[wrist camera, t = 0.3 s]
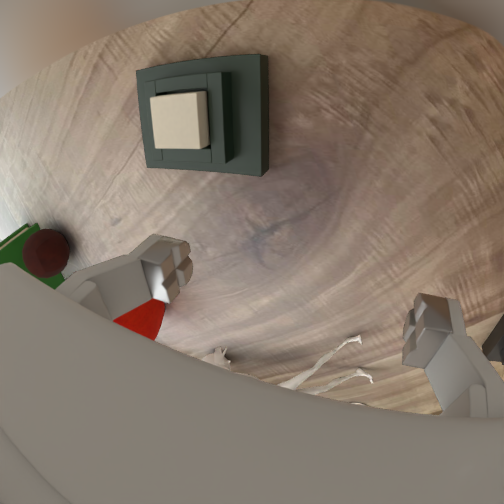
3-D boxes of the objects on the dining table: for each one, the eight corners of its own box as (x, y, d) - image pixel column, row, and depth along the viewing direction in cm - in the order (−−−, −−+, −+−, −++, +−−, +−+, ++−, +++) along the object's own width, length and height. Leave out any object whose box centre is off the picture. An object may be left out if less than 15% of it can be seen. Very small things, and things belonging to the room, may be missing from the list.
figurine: (375, 397, 30) (206, 424, 38) (365, 342, 39) (219, 376, 47) (363, 354, 27) (170, 390, 34) (351, 296, 35) (190, 340, 43)
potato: (42, 222, 45) (8, 247, 38) (67, 216, 40) (26, 245, 33) (60, 259, 49) (29, 286, 42) (88, 260, 44) (52, 292, 37)
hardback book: (26, 223, 49) (-49, 285, 31) (37, 223, 46) (-46, 291, 28) (57, 286, 58) (-6, 349, 40) (71, 291, 55) (3, 361, 37)
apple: (165, 276, 38) (116, 332, 30) (184, 322, 42) (145, 376, 34) (122, 270, 41) (76, 315, 33) (143, 312, 46) (104, 357, 37)
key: (161, 95, 20) (149, 97, 19) (207, 90, 19) (196, 92, 18) (166, 144, 23) (154, 148, 22) (210, 144, 21) (200, 149, 20)
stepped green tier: (148, 69, 22) (123, 72, 20) (268, 55, 19) (252, 52, 16) (158, 161, 28) (136, 173, 25) (268, 169, 24) (254, 183, 22)
